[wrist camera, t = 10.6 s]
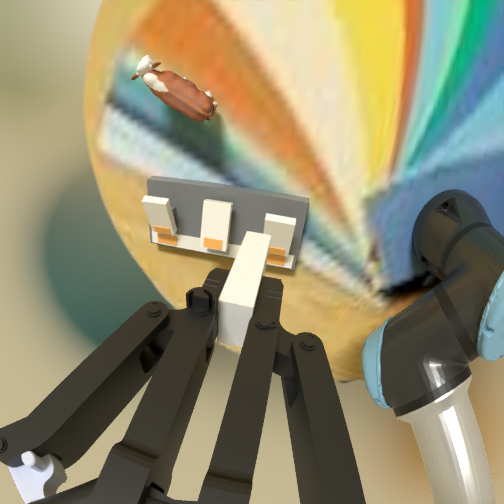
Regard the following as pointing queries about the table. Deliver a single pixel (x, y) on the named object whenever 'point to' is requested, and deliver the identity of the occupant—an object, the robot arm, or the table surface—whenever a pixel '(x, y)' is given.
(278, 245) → the switch
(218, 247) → the switch middle
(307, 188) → the table surface
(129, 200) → the table surface
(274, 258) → the switch panel
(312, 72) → the table surface
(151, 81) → the bull figurine
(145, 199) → the switch
